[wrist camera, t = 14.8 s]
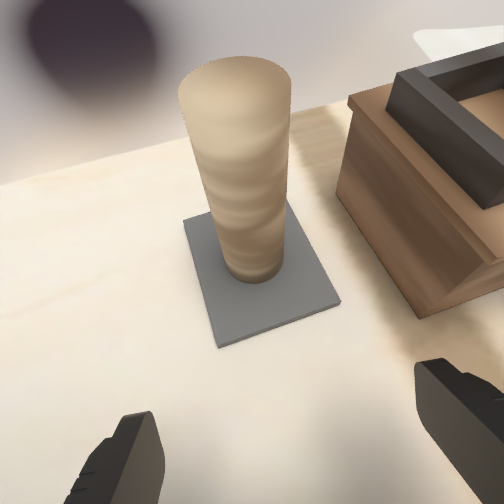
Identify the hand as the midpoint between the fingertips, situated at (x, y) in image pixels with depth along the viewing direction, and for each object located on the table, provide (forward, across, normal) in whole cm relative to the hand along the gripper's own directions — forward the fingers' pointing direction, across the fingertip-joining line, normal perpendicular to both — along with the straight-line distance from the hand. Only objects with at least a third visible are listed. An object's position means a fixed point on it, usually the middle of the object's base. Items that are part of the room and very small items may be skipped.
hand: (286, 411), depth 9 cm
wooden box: (+13, -14, -2) cm, 19 cm away
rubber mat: (+13, 0, -1) cm, 13 cm away
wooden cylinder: (+12, 0, -2) cm, 13 cm away
